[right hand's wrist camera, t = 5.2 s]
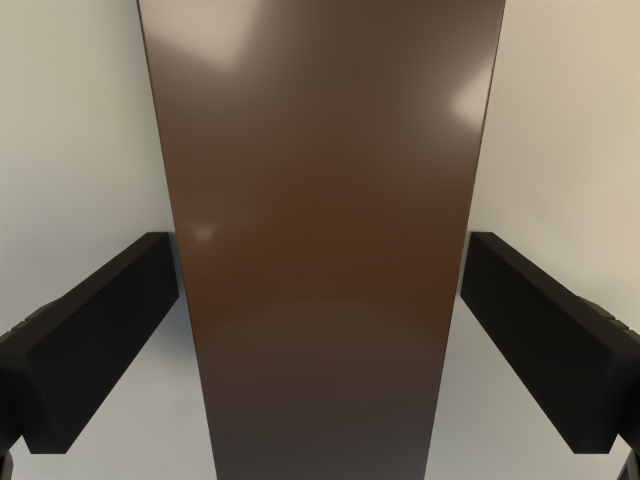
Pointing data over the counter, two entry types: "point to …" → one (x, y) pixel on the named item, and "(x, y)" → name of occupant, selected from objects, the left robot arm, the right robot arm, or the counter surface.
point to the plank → (320, 217)
